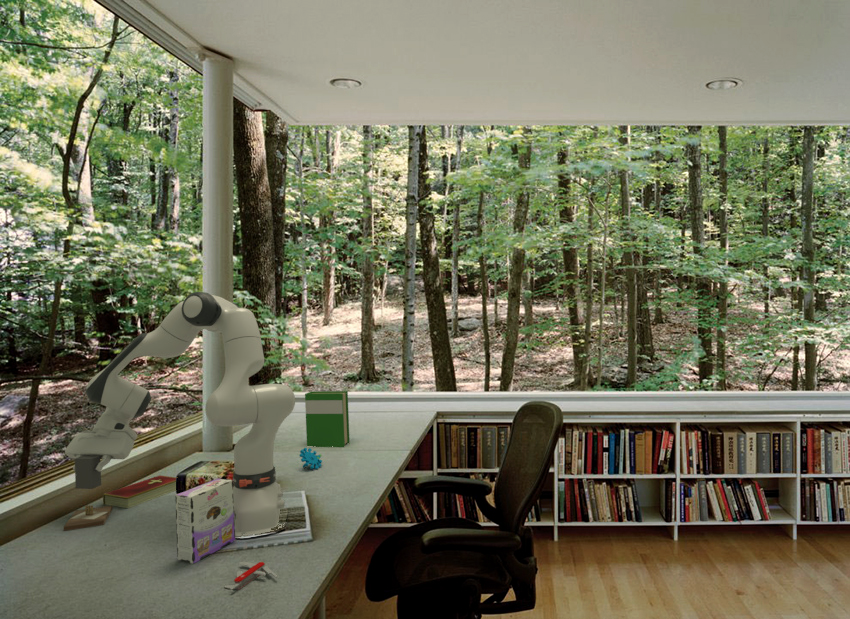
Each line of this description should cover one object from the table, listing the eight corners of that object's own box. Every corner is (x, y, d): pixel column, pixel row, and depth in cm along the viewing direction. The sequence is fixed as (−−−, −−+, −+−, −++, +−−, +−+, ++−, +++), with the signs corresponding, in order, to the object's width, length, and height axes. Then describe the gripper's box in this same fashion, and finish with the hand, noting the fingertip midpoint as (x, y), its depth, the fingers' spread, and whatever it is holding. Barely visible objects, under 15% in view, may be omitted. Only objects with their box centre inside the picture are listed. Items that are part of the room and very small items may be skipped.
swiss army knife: (255, 600, 113) (255, 590, 113) (204, 589, 118) (204, 580, 118) (288, 574, 123) (288, 565, 123) (240, 565, 128) (240, 557, 128)
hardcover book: (103, 505, 175) (102, 492, 175) (159, 486, 194) (158, 474, 194) (127, 510, 170) (127, 497, 170) (182, 489, 189) (182, 477, 189)
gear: (309, 468, 201) (297, 447, 206) (300, 478, 203) (288, 457, 207) (329, 465, 211) (316, 445, 215) (320, 474, 212) (308, 454, 217)
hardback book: (349, 443, 246) (347, 391, 246) (344, 447, 239) (342, 393, 239) (313, 442, 249) (311, 391, 249) (306, 446, 242) (305, 393, 242)
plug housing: (101, 484, 164) (100, 455, 164) (92, 489, 160) (91, 459, 160) (85, 484, 165) (84, 455, 165) (75, 488, 161) (74, 458, 161)
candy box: (219, 538, 145) (217, 477, 145) (236, 541, 142) (233, 479, 142) (176, 560, 132) (174, 493, 132) (193, 564, 130) (191, 496, 130)
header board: (103, 524, 157) (103, 510, 157) (63, 530, 154) (63, 516, 154) (112, 508, 170) (112, 496, 171) (76, 514, 167) (75, 501, 167)
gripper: (74, 425, 171) (49, 464, 161) (132, 425, 168) (110, 465, 158) (86, 435, 175) (62, 474, 166) (142, 436, 172) (121, 476, 163)
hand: (86, 470), depth 162 cm, fingers closed on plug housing, 6 cm apart
